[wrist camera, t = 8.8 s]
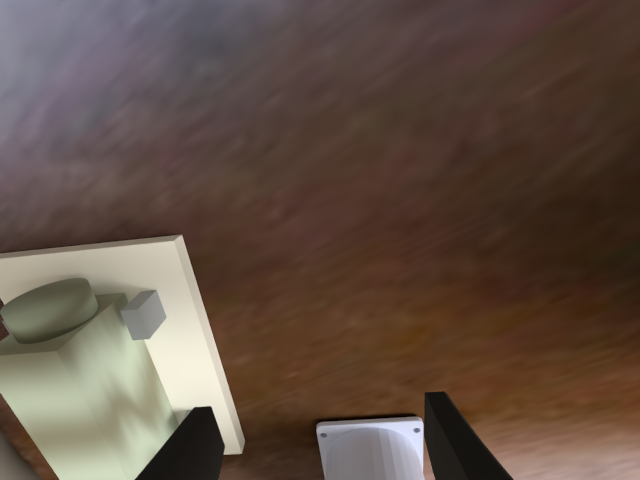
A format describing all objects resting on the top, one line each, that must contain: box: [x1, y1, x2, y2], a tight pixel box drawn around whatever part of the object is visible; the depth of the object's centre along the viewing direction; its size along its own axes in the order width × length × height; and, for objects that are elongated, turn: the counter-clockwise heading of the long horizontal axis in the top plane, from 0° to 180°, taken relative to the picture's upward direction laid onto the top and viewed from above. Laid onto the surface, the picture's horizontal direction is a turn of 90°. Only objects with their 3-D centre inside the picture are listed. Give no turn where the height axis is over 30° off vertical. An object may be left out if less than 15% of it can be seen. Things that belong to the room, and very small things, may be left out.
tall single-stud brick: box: [0, 278, 179, 480], centre depth 18 cm, size 14×4×5 cm, turn 7°
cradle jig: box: [0, 235, 245, 455], centre depth 21 cm, size 18×12×3 cm, turn 7°
